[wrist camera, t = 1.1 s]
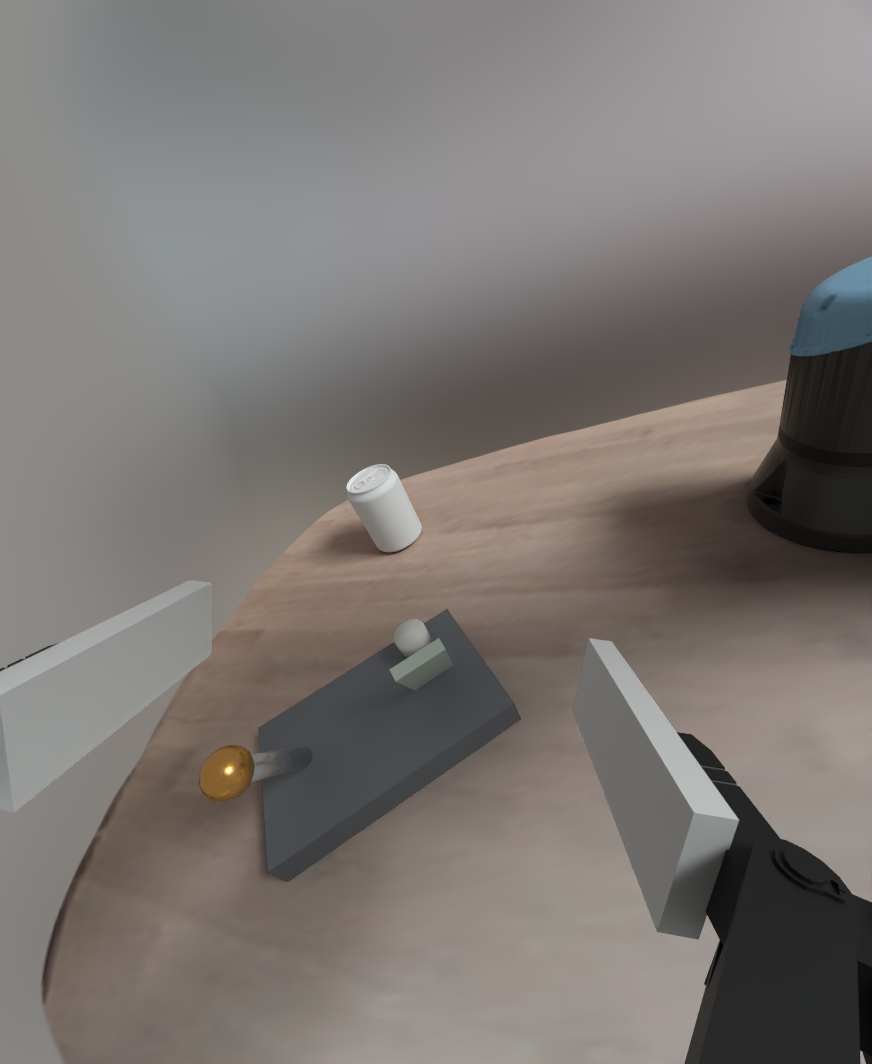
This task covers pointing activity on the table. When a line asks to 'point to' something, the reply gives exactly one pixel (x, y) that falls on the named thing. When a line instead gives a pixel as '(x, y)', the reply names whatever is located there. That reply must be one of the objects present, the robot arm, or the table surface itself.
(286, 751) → the steel toggle lever
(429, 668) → the sage paddle
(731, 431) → the table surface
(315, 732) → the switch panel
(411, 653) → the white push button
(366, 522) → the beverage can
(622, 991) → the table surface
